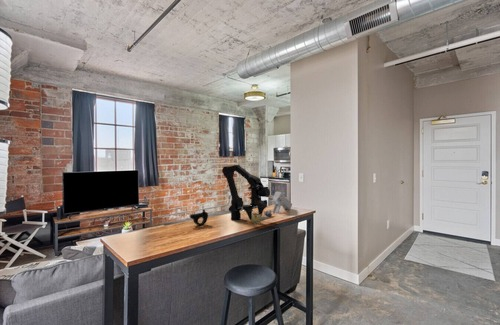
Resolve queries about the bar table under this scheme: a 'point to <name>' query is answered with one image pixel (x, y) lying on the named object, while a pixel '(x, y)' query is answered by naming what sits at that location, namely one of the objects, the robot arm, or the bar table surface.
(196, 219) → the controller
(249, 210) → the robot arm
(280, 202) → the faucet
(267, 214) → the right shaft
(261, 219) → the pad
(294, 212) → the bar table surface
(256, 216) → the olive green rounded lump
